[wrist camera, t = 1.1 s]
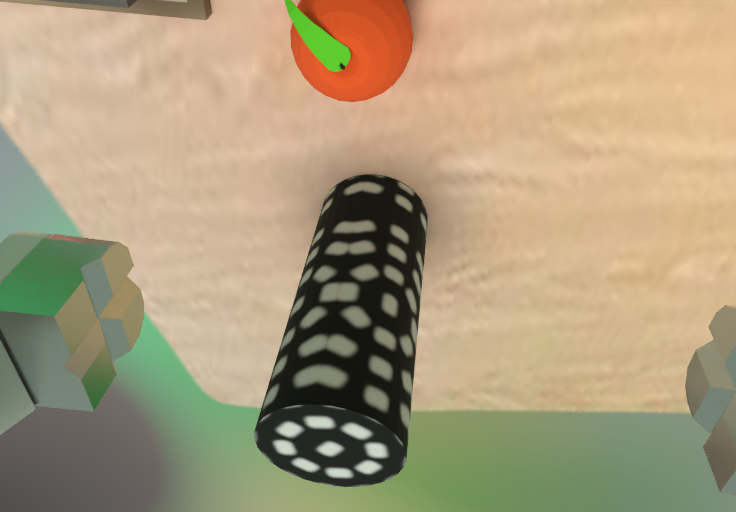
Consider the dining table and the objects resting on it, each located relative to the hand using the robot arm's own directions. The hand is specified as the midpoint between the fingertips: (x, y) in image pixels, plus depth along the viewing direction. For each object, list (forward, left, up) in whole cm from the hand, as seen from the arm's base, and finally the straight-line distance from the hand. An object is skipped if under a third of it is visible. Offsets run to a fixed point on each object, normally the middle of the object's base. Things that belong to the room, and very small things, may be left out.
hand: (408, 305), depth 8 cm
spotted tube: (+23, -3, -31) cm, 39 cm away
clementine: (+7, -5, -31) cm, 32 cm away
